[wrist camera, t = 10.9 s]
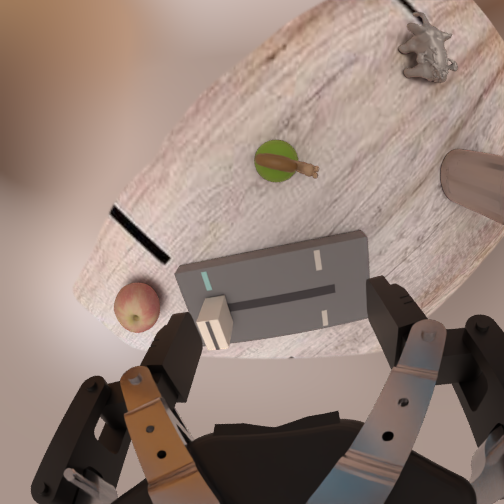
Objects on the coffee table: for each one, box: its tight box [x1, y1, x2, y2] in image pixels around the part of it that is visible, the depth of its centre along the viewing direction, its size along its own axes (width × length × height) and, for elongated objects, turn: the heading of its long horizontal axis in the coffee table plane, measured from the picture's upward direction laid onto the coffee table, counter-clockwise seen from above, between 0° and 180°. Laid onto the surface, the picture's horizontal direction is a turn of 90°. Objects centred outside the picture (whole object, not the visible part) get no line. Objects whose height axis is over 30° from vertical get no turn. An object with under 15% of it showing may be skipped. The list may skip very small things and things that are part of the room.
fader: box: [196, 295, 233, 350], centre depth 37 cm, size 3×5×6 cm, turn 13°
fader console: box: [175, 230, 370, 346], centre depth 41 cm, size 28×14×3 cm, turn 103°
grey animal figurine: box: [399, 12, 458, 83], centre depth 23 cm, size 9×12×8 cm
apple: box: [114, 283, 160, 333], centre depth 40 cm, size 8×8×8 cm
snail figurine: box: [254, 140, 319, 182], centre depth 30 cm, size 5×6×12 cm
